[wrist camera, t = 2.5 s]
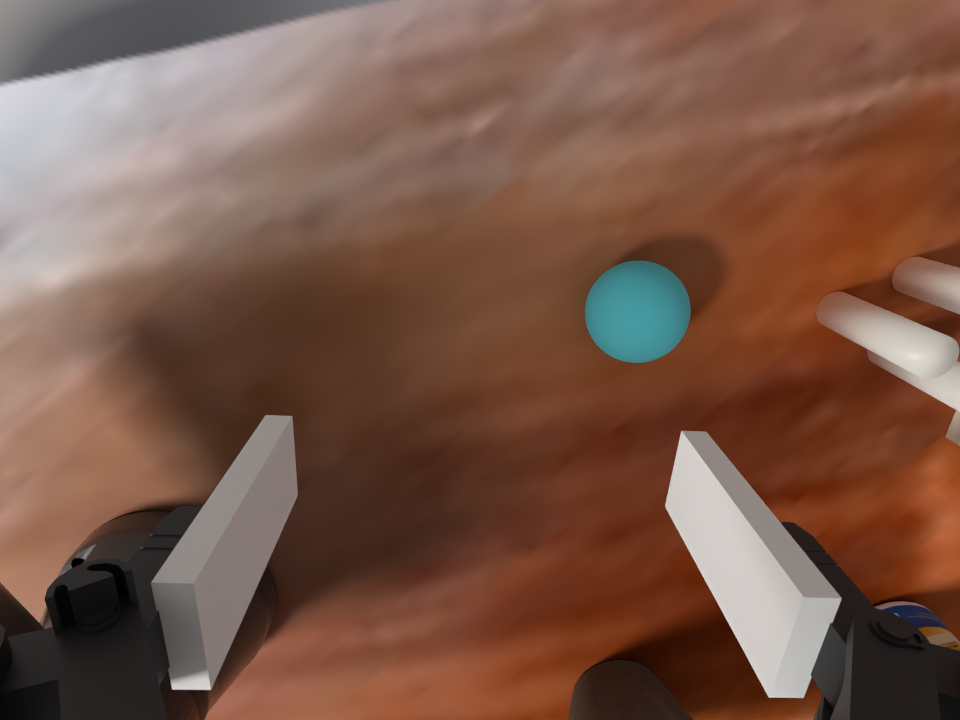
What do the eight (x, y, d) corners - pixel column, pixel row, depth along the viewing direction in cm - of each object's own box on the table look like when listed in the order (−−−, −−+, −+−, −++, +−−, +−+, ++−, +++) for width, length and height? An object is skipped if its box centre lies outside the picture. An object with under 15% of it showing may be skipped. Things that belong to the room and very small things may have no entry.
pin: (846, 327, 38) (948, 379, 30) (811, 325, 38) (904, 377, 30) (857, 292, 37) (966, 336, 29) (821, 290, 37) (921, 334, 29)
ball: (660, 344, 38) (695, 381, 32) (570, 340, 37) (590, 376, 32) (678, 254, 35) (718, 276, 30) (582, 248, 35) (605, 270, 30)
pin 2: (896, 365, 39) (1007, 425, 31) (862, 363, 39) (965, 423, 31) (908, 332, 38) (1025, 385, 30) (873, 330, 38) (982, 383, 30)
